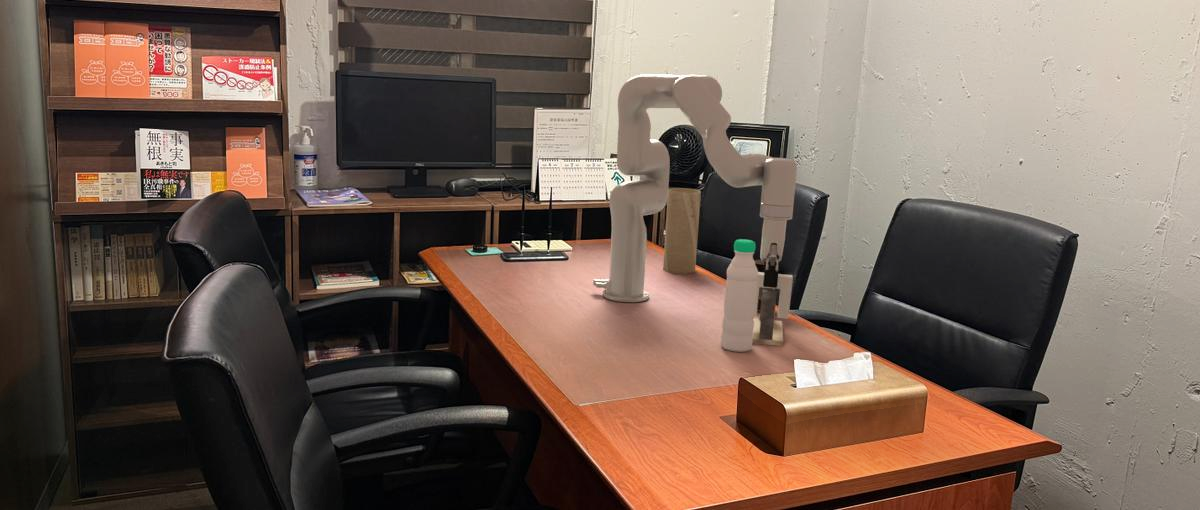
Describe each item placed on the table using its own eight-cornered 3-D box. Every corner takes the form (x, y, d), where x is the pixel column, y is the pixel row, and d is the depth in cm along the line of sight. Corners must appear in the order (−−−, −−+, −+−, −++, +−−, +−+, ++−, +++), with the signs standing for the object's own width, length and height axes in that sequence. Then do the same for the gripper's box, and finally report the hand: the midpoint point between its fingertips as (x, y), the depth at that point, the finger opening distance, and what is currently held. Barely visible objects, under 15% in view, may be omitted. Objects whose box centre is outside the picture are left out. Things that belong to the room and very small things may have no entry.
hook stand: (747, 342, 204) (752, 290, 201) (749, 322, 220) (753, 274, 217) (782, 346, 202) (787, 294, 200) (781, 325, 219) (786, 277, 216)
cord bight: (745, 314, 209) (749, 273, 207) (746, 311, 212) (749, 271, 210) (788, 318, 208) (792, 277, 206) (788, 315, 211) (792, 275, 208)
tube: (700, 269, 275) (706, 190, 269) (686, 275, 267) (691, 194, 261) (672, 264, 280) (677, 187, 275) (657, 269, 272) (662, 190, 266)
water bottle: (717, 342, 203) (726, 237, 197) (747, 343, 203) (756, 237, 198) (724, 352, 196) (733, 243, 190) (755, 353, 196) (764, 244, 191)
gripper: (760, 204, 214) (754, 272, 217) (759, 216, 197) (753, 289, 201) (791, 206, 212) (785, 275, 216) (793, 218, 196) (786, 292, 199)
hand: (769, 282), depth 208 cm, fingers open, 9 cm apart
